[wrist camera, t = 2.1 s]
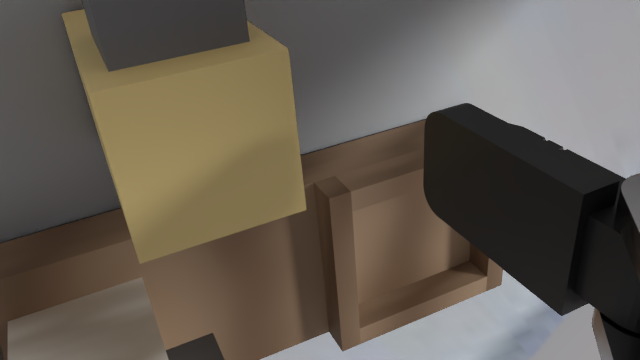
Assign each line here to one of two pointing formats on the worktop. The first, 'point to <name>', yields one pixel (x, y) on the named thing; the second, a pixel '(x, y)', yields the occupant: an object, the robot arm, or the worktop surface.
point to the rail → (249, 271)
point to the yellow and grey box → (189, 117)
